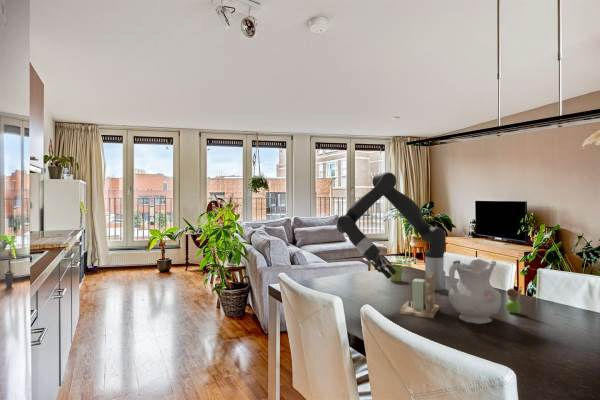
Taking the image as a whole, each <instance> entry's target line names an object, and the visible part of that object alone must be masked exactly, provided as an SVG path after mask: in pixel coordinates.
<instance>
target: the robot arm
mask: <svg viewBox="0 0 600 400" xmlns="http://www.w3.org/2000/svg"><path fill="white" fill-rule="evenodd" d="M396 184H397V178H396V175H395V174H394V173H392V172H389V171H387V172H381V173H380V172H379V173H376V174H375V175H373V177H372V186H373V188H371V190H370V191H368V192H367V193H365V194H363V195H362V196H361V197H360V198H358V199H357V200H356V201H355V202H354V203H353V204H352V205H351V206H350V207H349V208H348V211H347V212H346V213H345V214H343V215H340V216H339V217H338V218H337V222H336V229H337V231H338V232H339V233H342V234H346V235H347V237H348V240H349V241H350V242H351V243H352V244H353V246H354V247H355V248H356V249H357V251H358V252H359V253H360V254H361V255H362V256H363V257H364V258H365V260H367V262H370V264H371V265H372V267H374V269H375V270H376V271H377V272H378V273H381V274H383V275H384V277H386V279H390V277H391V276H392V275H391V274H390V273H389V271H390V272H391V273H392V274H393V275H394V274H395V273H396V270H395V269H394V268H393V267H392V266H391V265H392V262H391V261H390V260H389V259H388V258H387V257H386V256H385V255H384V254H380V253H381V250H380V249H379V248H378V247H377V245H375V243H374V242H373V241H372V240H371V239H370V238H368V237H367V236H366V234H364V232H362V231H361V230H360V228H359V227H358V225H357V222H358V220H360V218H361V217H363V216H364V214H365V213H366V212H368V210H369V209H371V207H372V206H373V205H374V204H375V203H377V201H379V199H381V198H382V197H384V198H386V200H387V201H389V203H390V204H391V205H392V206H393V207H394V208H395V209H396V210H397V211H398V212H399V213H400V214H401V216H402V217H403V218H404V219H405V220H406V221H407V222H408V223H409V224H410V225H411V226H412V227H413V228H414V229H415V231H416V232H417V233H418V235H419V236H420V237H421V239H423V240H424V242H426V243H427V244H430V248H429V249H428V250H425V252H424V253H425V255H424V256H425V257H424V258H425V263H424V265H425V268H424V269H425V272H424V273H425V278H424V280H426V277H427V276H428V275H429V274H430V273H431V272H433V273H435V291H443V290H446V271H445V270H444V265H445V264H444V263H445V262H444V257H445V256H444V255H445V252H446V242H447V241H446V240H447V236H446V231H445V230H444V229H443V228H442V227H438V226H431V224H429V223H428V222H427V221H426V220H425V219H424V217H423V215H422V210H421V209H420V207H419V206H418V205H417V203H416V202H415V201H414V200H413V199H412V198H411V197H409V196H408V195H406V194H404V193H402V192H401V191H399V190H397V189H396V188H395V187H396Z"/></svg>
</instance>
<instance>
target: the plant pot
mask: <svg viewBox="0 0 600 400" xmlns="http://www.w3.org/2000/svg"><path fill="white" fill-rule="evenodd" d="M391 266H392V267H393V268H394V269H395V270H396V273H395V274H394V275H393V274H392V273H391V272H390V271H389V270H388V272H389V273H390V274H391V275H392V276H391V277H390V278H389V279H390V281H391V282H401V281H402V276H403V275H402V274H403V270H404V265H402V264H391Z"/></svg>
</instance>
